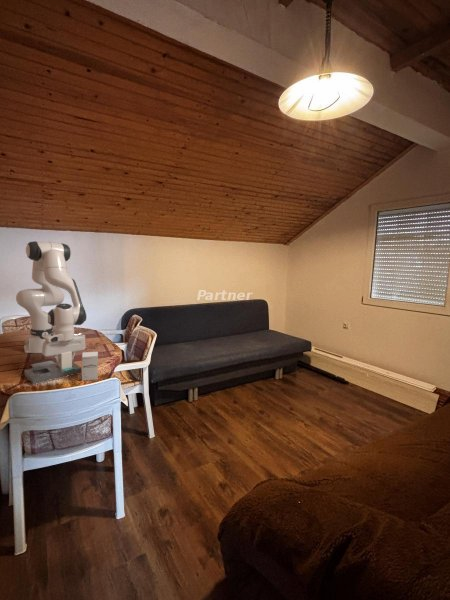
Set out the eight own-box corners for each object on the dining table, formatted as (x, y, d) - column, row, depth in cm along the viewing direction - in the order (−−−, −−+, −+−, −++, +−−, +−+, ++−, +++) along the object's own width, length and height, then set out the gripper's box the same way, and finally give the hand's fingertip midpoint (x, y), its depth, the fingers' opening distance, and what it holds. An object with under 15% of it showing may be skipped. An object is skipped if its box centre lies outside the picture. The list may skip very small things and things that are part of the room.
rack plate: (24, 375, 149) (24, 369, 148) (70, 365, 165) (70, 360, 164) (33, 384, 139) (32, 378, 139) (81, 373, 156) (81, 367, 155)
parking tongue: (31, 366, 161) (31, 364, 161) (51, 362, 168) (51, 360, 168) (36, 371, 155) (36, 369, 155) (57, 367, 162) (57, 364, 162)
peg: (58, 368, 156) (57, 351, 155) (68, 365, 159) (68, 349, 158) (61, 370, 152) (61, 353, 151) (72, 368, 156) (71, 352, 155)
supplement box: (81, 381, 146) (81, 356, 144) (82, 375, 153) (82, 352, 151) (97, 379, 149) (98, 355, 147) (97, 374, 156) (97, 351, 154)
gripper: (82, 331, 163) (82, 355, 165) (40, 337, 148) (41, 363, 150) (87, 333, 159) (87, 358, 161) (44, 339, 144) (45, 367, 146)
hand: (64, 361), depth 155 cm, fingers closed on peg, 5 cm apart
